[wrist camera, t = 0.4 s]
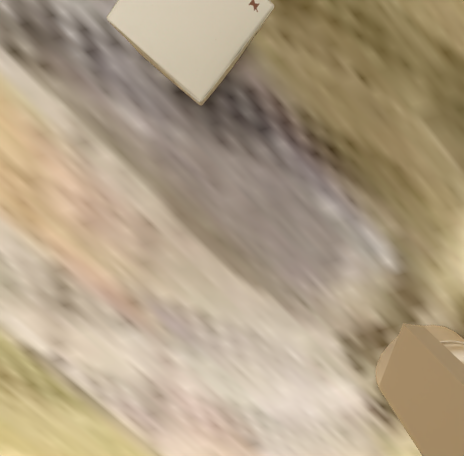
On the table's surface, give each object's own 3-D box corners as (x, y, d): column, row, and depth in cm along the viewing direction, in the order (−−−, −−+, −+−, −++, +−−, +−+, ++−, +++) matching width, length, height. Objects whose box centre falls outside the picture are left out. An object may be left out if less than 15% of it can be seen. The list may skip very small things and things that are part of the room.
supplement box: (187, -16, 30) (181, -101, 18) (249, 46, 32) (280, 6, 20) (137, 53, 32) (101, 16, 20) (199, 109, 34) (201, 106, 22)
